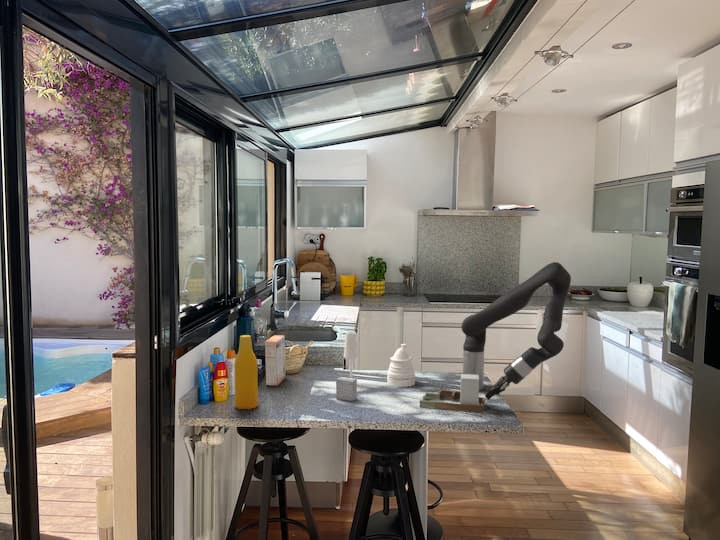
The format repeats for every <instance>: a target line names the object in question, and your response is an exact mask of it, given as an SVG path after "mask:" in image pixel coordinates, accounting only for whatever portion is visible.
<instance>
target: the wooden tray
mask: <svg viewBox="0 0 720 540" xmlns="http://www.w3.org/2000/svg"><path fill="white" fill-rule="evenodd" d="M485 398H486V397H480V396H479V406H478V405H468V404H460V403H455V402H460V391H458V390H457V391H456V390H445V389H439V390H438V393H437V392H436V393H435V392H433V393H432V392H424V393H423V395H422V397H421V398H420V399H419V408H427V407H429V408H430V409H438V408H441V409H440V410H447V411H449V410H451V411H458V412H459V411H460V412H461V411H462V412H470V411H471V412H472V413H480V412H482V414H483V412H484V409H485V405H486V404H485V403H486V401H485V400H486V399H485ZM432 399H433V400H434V401H433V400H432ZM442 401H443V402H442ZM445 401H450V402H445ZM429 408H428V409H429ZM471 412H470V413H471Z"/></svg>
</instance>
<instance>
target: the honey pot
mask: <svg viewBox="0 0 720 540" xmlns="http://www.w3.org/2000/svg"><path fill="white" fill-rule="evenodd" d="M406 346H407V344H406V343H401V344H400V347H399V348H397V350H396V351H395V352H394V354H393V356H391V357H390V361H391V362H390V363H389V367H388V370H387V371H386V373H387V375H386V376H387V377H386V383H387V385H389V386H391V385H392V386H391V387H395V386H397V387H396V388H408V386H409V387H413V386H414V385H415V384H416V379H415V378H416V372H415V370H414V366H413V364H412V363H413V362H412V357H411V356H409V354H408V352H407V351H406V349H405V348H406ZM412 385H413V386H412Z"/></svg>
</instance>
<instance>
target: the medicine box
mask: <svg viewBox="0 0 720 540" xmlns="http://www.w3.org/2000/svg"><path fill="white" fill-rule="evenodd" d="M357 383H358V380H357V378H353V377H352V378H350V377H344V376H342V377H341V376H339V377H338V378H337V379H335V387H336V389H335V391H336V393H335V395H336V396H335V397H336V398H335V399H336V400H341V401H347V402H348V401H349V402H354V401H355V400H357V398H358V385H357Z"/></svg>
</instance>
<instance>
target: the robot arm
mask: <svg viewBox="0 0 720 540" xmlns="http://www.w3.org/2000/svg"><path fill="white" fill-rule="evenodd" d="M571 281H572V276H571V274H570V273H569V271H567V269H566V268H565V267H564V266H563V265H562V264H561V263H560V262H556V261H553V262H551V263H548V264H546V265H545V266H544V267H542V268H541V269H539V270H538V271H537V272H535V273H534V274H533V275H532V276H530V277H529V278H527V279H526V280H525V281H523V282H521V283H520V284H519V285H517V286H515V287H513V288H512V289H511V290H508V291H507V292H505V293H504V294H502V295H501V296H500V297H498V298H497V299H495V300H494V301H493V302H492V303H490V304H489V305H488V306H487V307H485V308H483V309H482V310H480V311H478V312H476V313H474V314H471V315H469V316H467V317H465V318H464V319H463V321H462V323H461V331H462V333H463V334H464V335H465V339H464V342H463V346H462V347H463V348H462V349H463V351H462V352H463V354H462V355H463V358H462V359H463V360H462V374H471V375H479V391H481V390H483V389H484V384H485V383H484V382H485V381H484V379H485V377H484V375H485V372H484V371H485V347H486V341H487V340H486V339H487V338H486V337H487V328H488V327H490V326H491V325H493V324H495V323H496V322H499V321H501V320H504V319H505V318H508V317H510V316H512V315H514V314H516V313H518V312H519V311H521V310H522V309H524V308H525V307H526V306H528V304H529V303H530V301H531V299H532V297H533V296H534V294H535V292H536V291H537V290H538V289H539V288H540V287H542V286H544V285H546V284H547V285H549V287H550V288H551V289H552V297H551V299H550V301H548V303H547V304H546V307H544V313H543V319H542V325H541V327H540V329H539V331H538V333H537V337H536V339H537V343H538V345H539V346H540V348H536V347H529V348H528V349H526V351H524V352H523V353H522V354H521V355H520V356H519V357H516V358H515V359H514V360H513V361H512V362H511V363H509V364H508V365H507V366H506V367H504V369H503V373H504V376H503V375H502V376H500V378H499V379H498V380H497V381H496V382H495V384H493V386H492V387H491V389H490V390H489V391H487V392H486V393H485V394H484V398H486V399H487V400H488V401H489V400H490V399H492V398H493V397H494V396H495V395H499V394H500V393H502V392H505V391H506V389H508V388H509V387H510V384H511V383H513V384H515V385H518V384H519V383H521V381H523V380H524V379H526V378H527V377H528V376H529V374H531V373H532V371H534V369H536V367H538V366H539V365H540V364H542V363H543V362H546V361H547V360H549V359H551V358H554V357H556V356H557V355H559V354H560V353H561V352H562V351H563V349H564V345H565V343H564V341H563V339H562V338H560V337H559V336H558V335H556V332H559V331H560V330H561V329H562V324H563V315H564V314H563V313H564V307H565V303H566V299H567V296H568V293H569V289H570V286H571Z"/></svg>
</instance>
